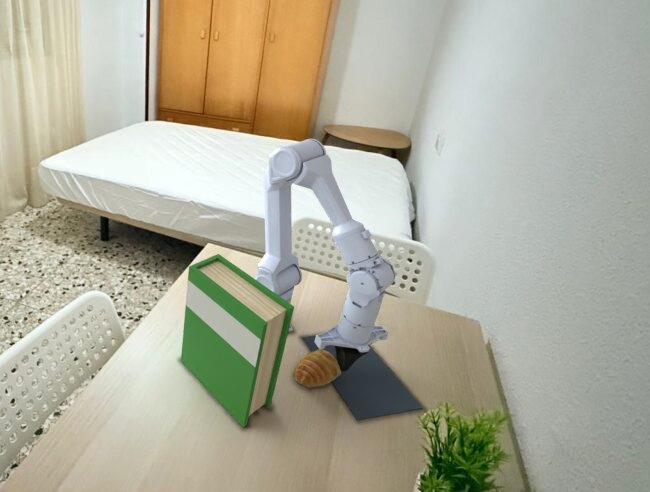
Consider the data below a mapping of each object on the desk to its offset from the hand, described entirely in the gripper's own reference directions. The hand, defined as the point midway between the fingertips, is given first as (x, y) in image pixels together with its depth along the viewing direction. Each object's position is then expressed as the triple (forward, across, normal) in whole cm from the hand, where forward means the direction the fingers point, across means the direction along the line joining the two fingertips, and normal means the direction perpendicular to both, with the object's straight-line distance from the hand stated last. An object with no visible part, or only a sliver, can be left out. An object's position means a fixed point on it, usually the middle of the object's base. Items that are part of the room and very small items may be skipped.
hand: (341, 367), depth 82 cm
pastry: (+2, -5, 0) cm, 5 cm away
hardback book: (+2, -24, +2) cm, 25 cm away
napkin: (+2, +4, 0) cm, 4 cm away
